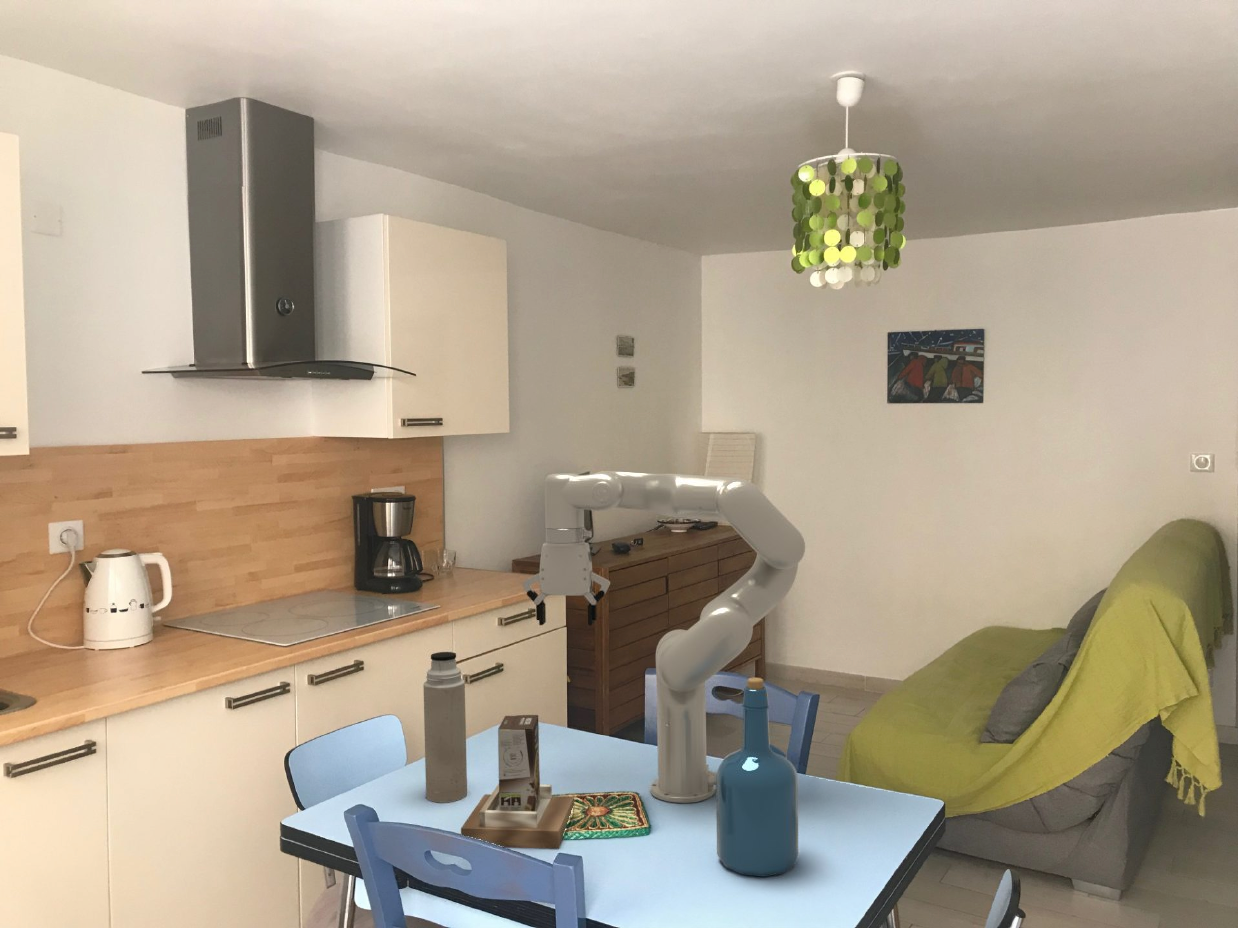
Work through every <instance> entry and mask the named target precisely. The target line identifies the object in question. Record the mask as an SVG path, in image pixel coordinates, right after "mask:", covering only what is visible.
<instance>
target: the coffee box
mask: <svg viewBox="0 0 1238 928" xmlns="http://www.w3.org/2000/svg"><path fill="white" fill-rule="evenodd" d="M539 727H540V726H539V714H522V715H521V714H520V715H505V716H504V717H503V719H502V721H501V723H500V725H499V727H498V728H497V736H498V738H497V739H498V740H497V748H498V749H497V751H498V784H499V811H533V812H537V809H538V806H539V803H540V785H541V779H540V775H541V774H540V772H541V771H540V744H539V743H540V739H539V736H540V733H539V731H540V730H539V729H540V728H539Z"/></svg>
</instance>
